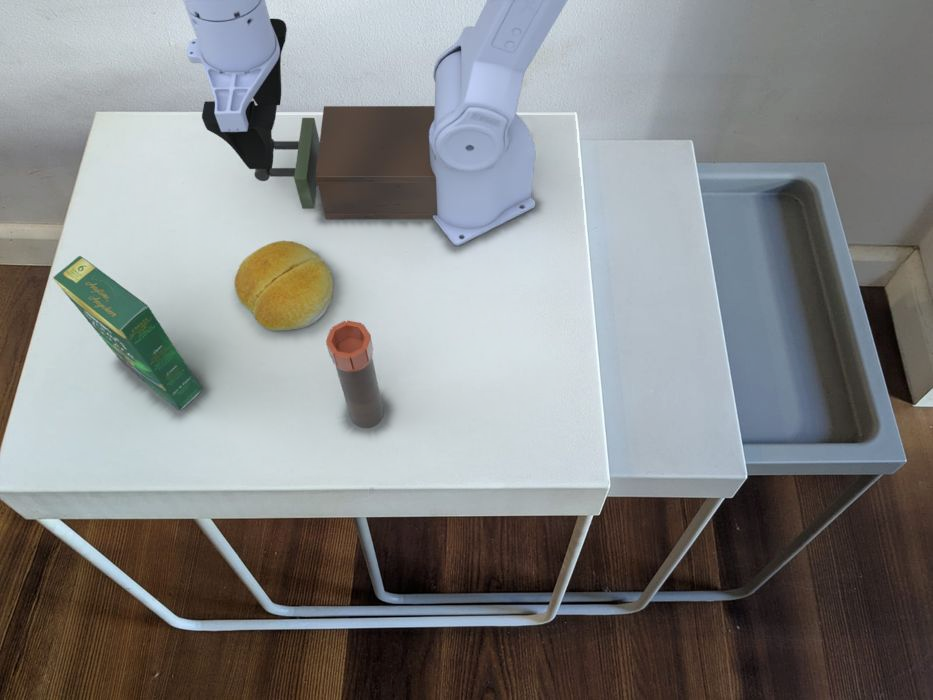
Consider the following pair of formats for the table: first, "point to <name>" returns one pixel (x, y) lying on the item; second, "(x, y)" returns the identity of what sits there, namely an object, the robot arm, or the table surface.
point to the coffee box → (129, 331)
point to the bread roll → (284, 285)
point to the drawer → (299, 163)
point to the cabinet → (376, 163)
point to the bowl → (350, 346)
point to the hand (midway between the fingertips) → (265, 133)
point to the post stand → (362, 395)
